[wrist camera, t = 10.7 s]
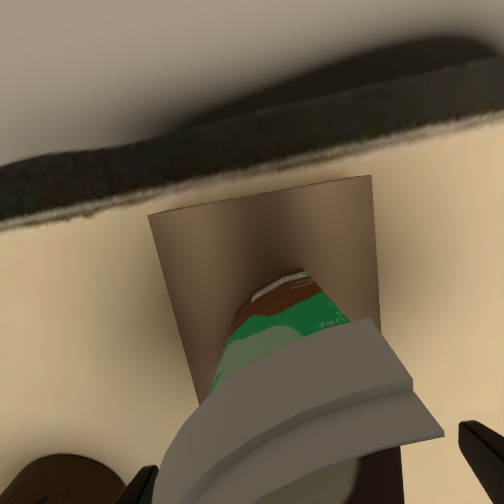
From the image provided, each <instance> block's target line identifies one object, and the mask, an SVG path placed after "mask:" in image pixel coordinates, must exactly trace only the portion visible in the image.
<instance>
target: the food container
mask: <svg viewBox="0 0 504 504" xmlns="http://www.w3.org/2000/svg"><path fill="white" fill-rule="evenodd" d="M440 437H445V436H444V430H443V429H442V428H441V426H440V425H439V424H438V423H437V421H436V420H435V419H434V417H433V416H432V415H431V413H430V412H429V411H428V409H427V408H426V407H425V406H424V404H423V403H422V402H421V400H420V399H419V398H418V396H417V395H416V394H415V393H414V391H413V378H412V377H411V376H410V374H409V373H408V371H407V370H406V368H405V367H404V366H403V364H402V363H401V361H400V360H399V358H398V357H397V356H396V354H395V353H394V351H393V350H392V348H391V347H390V346H389V344H388V343H387V341H386V340H385V338H384V337H383V336H382V334H381V333H380V331H379V330H378V328H377V327H376V326H375V324H374V323H373V321H372V320H371V318H370V317H369V318H365V319H361V320H358V321H354V322H351V321H350V320H349V319H348V318H347V317H346V316H345V315H344V314H343V312H342V311H341V310H340V309H339V308H338V307H337V306H336V305H335V303H334V302H333V301H332V300H331V299H330V298H329V297H328V296H327V295H326V293H325V292H324V291H323V290H322V289H321V288H320V287H319V286H318V284H317V283H316V282H315V281H314V280H313V279H312V278H311V277H310V275H309V274H308V273H307V272H306V271H305V270H304V269H303V268H301V269H298V270H294V271H290V272H287V273H283V274H280V275H279V276H277V277H275V278H274V279H272V280H270V281H268V282H267V283H265V284H263V285H262V286H260V287H258V288H256V289H255V291H254V292H253V293H252V294H251V295H250V296H249V297H248V298H247V299H246V301H245V302H244V303H243V304H242V305H241V306H240V307H239V308H238V310H237V312H236V315H235V317H234V319H233V322H232V324H231V326H230V329H229V331H228V334H227V338H226V341H225V344H224V347H223V351H222V354H221V357H220V360H219V364H218V367H217V370H216V373H215V377H214V380H213V383H212V387H211V390H210V393H209V396H208V397H207V398H206V399H205V400H204V401H203V403H202V404H201V405H200V406H199V407H198V408H197V409H196V410H195V411H194V413H193V414H192V415H191V416H190V417H189V418H188V419H187V420H186V421H185V423H184V424H183V425H182V427H181V429H180V430H179V432H178V434H177V435H176V437H175V438H174V440H173V442H172V443H171V445H170V446H169V448H168V450H167V451H166V453H165V456H164V459H163V461H162V464H161V467H160V469H159V472H158V475H157V477H156V480H155V484H154V491H153V498H152V504H405V503H404V490H403V477H402V464H401V450H400V446H402V445H406V444H411V443H416V442H421V441H426V440H431V439H435V438H440Z"/></svg>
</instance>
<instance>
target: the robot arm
mask: <svg viewBox="0 0 504 504" xmlns="http://www.w3.org/2000/svg"><path fill="white" fill-rule="evenodd" d="M458 444H459V448H460V450H461V452H462V454H463V456H464V457H465V459H466V460H467V462H468V464H469V465H470V467H471V469H472V470H473V472H474V473H475V475H476V477H477V478H478V480H479V482H480V483H481V485H482V486H483V488H484V490H485V491H486V493H487V494H488V496H489V498H490V499H491V501H492V503H493V504H504V437H503V436H502V435H500V434H498V433H497V432H495V431H493V430H491V429H490V428H488V427H486V426H485V425H483V424H481V423H480V422H478V421H475V420H469V421H462V422H460V423H459V435H458ZM158 472H159V469H158V467H157V466H156V465H150V466H144V467H142V468H141V469H140V470H139V472H138V473H137V474H136V475H135V477H134V478H133V479H132V481H131V482H130V483H129V484H128V486H127V487H126V488H125V490H124V491H123V492H122V493H121V495H120V496H119V497H118V498H117V500H116V501H115V502H114V504H152V498H153V491H154V484H155V480H156V477H157V475H158Z"/></svg>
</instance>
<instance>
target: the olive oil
mask: <svg viewBox="0 0 504 504" xmlns="http://www.w3.org/2000/svg"><path fill="white" fill-rule="evenodd" d="M124 490H125V488H124V486H123V484H122V483H121V481H120V480H119V479H118V478H117V477H116V476H115V475H114V474H113V473H112V472H111V471H109V470H108V469H107V468H105V467H103V466H102V465H100V464H98V463H96V462H94V461H91V460H88V459H85V458H81V457H76V456H66V455H60V456H51V457H46V458H43V459H40V460H37V461H35V462H33V463H31V464H29V465H28V466H27V467H25V468H24V469H23V470H22V471H21V472H20V473H19V474H18V475H17V476H16V478H15V479H14V480H13V481H12V482H11V483H10V485H9V486H8V487H7V488H6V489H5V490H4V492H3V493H2V494H1V495H0V504H114V502H115V501H116V500H117V498H118V497H119V496H120V495H121V493H122V492H123V491H124Z"/></svg>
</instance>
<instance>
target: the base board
mask: <svg viewBox="0 0 504 504" xmlns="http://www.w3.org/2000/svg"><path fill="white" fill-rule="evenodd" d="M147 216H148V219H149V223H150V227H151V230H152V234H153V238H154V241H155V245H156V248H157V252H158V256H159V259H160V263H161V267H162V270H163V274H164V278H165V281H166V285H167V289H168V292H169V296H170V299H171V303H172V307H173V310H174V314H175V318H176V321H177V325H178V329H179V332H180V336H181V340H182V343H183V347H184V351H185V354H186V358H187V361H188V365H189V369H190V372H191V376H192V380H193V383H194V387H195V391H196V394H197V398H198V402H199V405H201V404H202V403H203V401H204V400H205V399H206V398H207V397H208V396H209V393H210V390H211V387H212V383H213V380H214V377H215V373H216V370H217V367H218V364H219V360H220V357H221V354H222V351H223V347H224V344H225V341H226V338H227V334H228V331H229V329H230V326H231V324H232V322H233V319H234V317H235V315H236V312H237V310H238V308H239V307H240V306H241V305H242V304H243V303H244V302H245V301H246V299H247V298H248V297H249V296H250V295H251V294H252V293H253V292H254V291H255V289H256V288H258V287H260V286H262V285H263V284H265V283H267V282H268V281H270V280H272V279H274V278H275V277H277V276H279V275H280V274H283V273H287V272H290V271H294V270H298V269H301V268H303V269H304V270H305V271H306V272H307V273H308V274H309V275H310V277H311V278H312V279H313V280H314V281H315V282H316V283H317V284H318V286H319V287H320V288H321V289H322V290H323V291H324V292H325V293H326V295H327V296H328V297H329V298H330V299H331V300H332V301H333V302H334V303H335V305H336V306H337V307H338V308H339V309H340V310H341V311H342V312H343V314H344V315H345V316H346V317H347V318H348V319H349V320H350V321H351V322H354V321H358V320H361V319H365V318H369V317H370V318H371V320H372V321H373V323H374V324H375V326H376V327H377V328H378V330H379V331H380V333H381V322H380V306H379V290H378V274H377V258H376V242H375V226H374V209H373V193H372V177H371V175H366V176H357V177H349V178H343V179H338V180H332V181H327V182H321V183H316V184H310V185H305V186H299V187H294V188H288V189H283V190H277V191H272V192H266V193H261V194H255V195H250V196H244V197H239V198H233V199H228V200H222V201H217V202H211V203H206V204H200V205H195V206H189V207H184V208H178V209H173V210H167V211H163V212H159V213H155V214H151V215H147Z"/></svg>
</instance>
